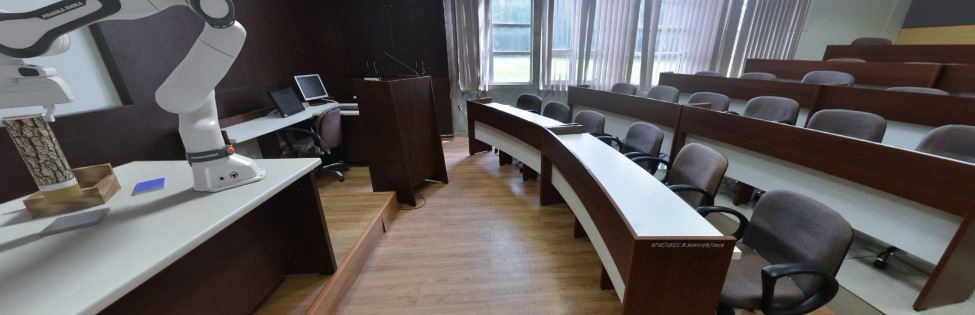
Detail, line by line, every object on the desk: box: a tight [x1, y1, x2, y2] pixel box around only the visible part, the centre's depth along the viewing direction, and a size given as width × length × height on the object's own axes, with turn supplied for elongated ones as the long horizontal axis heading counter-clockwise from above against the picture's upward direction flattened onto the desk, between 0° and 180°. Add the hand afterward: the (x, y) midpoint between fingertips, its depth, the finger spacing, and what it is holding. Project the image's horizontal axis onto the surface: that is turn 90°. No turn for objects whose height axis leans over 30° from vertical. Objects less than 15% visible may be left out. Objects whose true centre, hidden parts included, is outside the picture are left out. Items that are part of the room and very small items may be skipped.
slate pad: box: [38, 206, 111, 237], centre depth 98 cm, size 11×11×1 cm
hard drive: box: [132, 177, 167, 196], centre depth 122 cm, size 2×8×12 cm
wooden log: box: [1, 112, 83, 204], centre depth 91 cm, size 7×7×25 cm
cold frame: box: [22, 162, 122, 219], centre depth 110 cm, size 16×16×10 cm
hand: (27, 124), depth 88 cm, fingers closed on wooden log, 7 cm apart
